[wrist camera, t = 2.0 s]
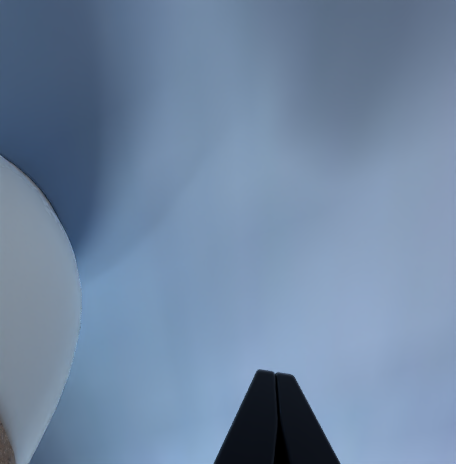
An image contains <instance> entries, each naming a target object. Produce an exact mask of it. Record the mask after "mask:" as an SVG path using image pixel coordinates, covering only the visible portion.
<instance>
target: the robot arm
mask: <svg viewBox="0 0 456 464" xmlns="http://www.w3.org/2000/svg"><path fill="white" fill-rule="evenodd" d="M214 464H340V462H339V460H338V458H337V456H336V454H335V453H334V451H333V449H332V447H331V445H330V443H329V441H328V439H327V437H326V436H325V434H324V432H323V430H322V428H321V426H320V424H319V422H318V420H317V419H316V417H315V415H314V413H313V411H312V409H311V407H310V405H309V403H308V402H307V400H306V398H305V396H304V394H303V392H302V390H301V388H300V386H299V385H298V383H297V381H296V379H295V377H294V376H293V375H291V374H286V373H280V372H277V373H276V374H275V373H274V372H272V371H267V370H261V369H259V370H257V372H256V374H255V376H254V378H253V380H252V382H251V384H250V386H249V389H248V391H247V393H246V395H245V397H244V399H243V402H242V404H241V406H240V408H239V410H238V412H237V414H236V417H235V419H234V421H233V423H232V425H231V427H230V429H229V432H228V434H227V436H226V438H225V440H224V442H223V444H222V447H221V449H220V451H219V453H218V455H217V457H216V460H215V462H214Z"/></svg>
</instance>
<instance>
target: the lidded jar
mask: <svg viewBox="0 0 456 464" xmlns="http://www.w3.org/2000/svg"><path fill="white" fill-rule="evenodd" d="M81 309H82V288H81V283H80V278H79V273H78V268H77V263H76V258H75V254H74V252H73V249H72V246H71V244H70V241H69V238H68V236H67V234H66V232H65V230H64V228H63V226H62V225H61V223H60V221H59V219H58V217H57V215H56V213H55V211H54V210H53V208H52V206H51V204H50V202H49V201H48V199H47V198H46V197H45V195H44V194H43V193H42V191H41V190H40V189H39V188H38V186H37V185H36V184H35V183H34V182H33V181H32V180H31V179H30V178H29V177H28V176H27V175H26V174H25V173H24V172H22V171H21V170H20V169H19V168H18V167H16V166H15V165H14V164H12V163H11V162H9V161H8V160H6V159H5V158H3V157H2V156H1V155H0V464H29V462H30V460H31V458H32V456H33V454H34V452H35V451H36V449H37V447H38V445H39V443H40V441H41V439H42V437H43V435H44V433H45V430H46V428H47V426H48V424H49V422H50V420H51V418H52V416H53V414H54V412H55V410H56V408H57V405H58V403H59V400H60V397H61V395H62V392H63V390H64V387H65V384H66V382H67V379H68V376H69V373H70V369H71V366H72V362H73V358H74V354H75V350H76V346H77V342H78V337H79V333H80V328H81Z"/></svg>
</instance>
